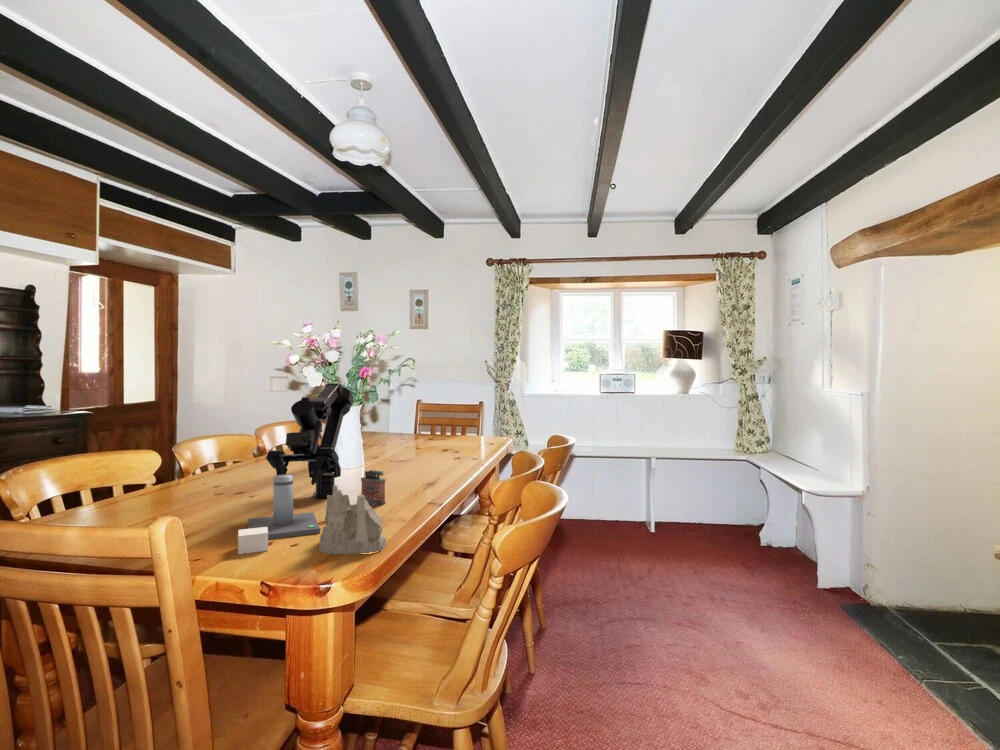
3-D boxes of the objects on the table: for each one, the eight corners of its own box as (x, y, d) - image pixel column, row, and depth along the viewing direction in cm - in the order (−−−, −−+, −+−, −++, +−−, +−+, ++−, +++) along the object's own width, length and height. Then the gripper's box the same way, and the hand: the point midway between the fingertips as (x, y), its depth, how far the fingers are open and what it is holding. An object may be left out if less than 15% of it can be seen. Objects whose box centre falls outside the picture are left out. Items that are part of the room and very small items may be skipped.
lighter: (358, 503, 161) (358, 470, 161) (364, 500, 164) (365, 468, 164) (381, 505, 158) (381, 472, 158) (387, 503, 162) (387, 470, 161)
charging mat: (239, 524, 139) (239, 508, 139) (313, 516, 147) (313, 501, 146) (238, 554, 117) (238, 536, 117) (324, 543, 124) (324, 526, 124)
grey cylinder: (269, 523, 135) (269, 476, 135) (285, 519, 139) (286, 473, 139) (280, 527, 133) (280, 478, 133) (296, 522, 137) (297, 475, 136)
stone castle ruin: (376, 556, 116) (375, 486, 117) (305, 555, 118) (305, 486, 119) (399, 538, 131) (399, 476, 132) (336, 537, 133) (335, 477, 134)
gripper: (265, 422, 149) (249, 471, 139) (331, 418, 148) (319, 467, 138) (281, 444, 157) (266, 492, 147) (343, 441, 156) (333, 489, 146)
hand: (295, 485), depth 144 cm, fingers open, 9 cm apart
